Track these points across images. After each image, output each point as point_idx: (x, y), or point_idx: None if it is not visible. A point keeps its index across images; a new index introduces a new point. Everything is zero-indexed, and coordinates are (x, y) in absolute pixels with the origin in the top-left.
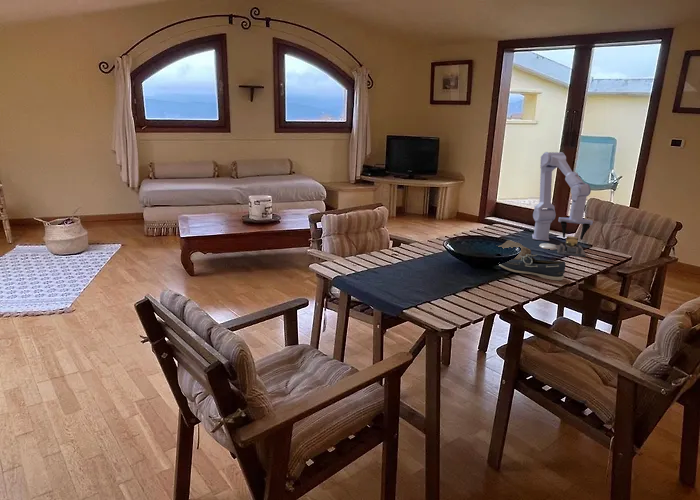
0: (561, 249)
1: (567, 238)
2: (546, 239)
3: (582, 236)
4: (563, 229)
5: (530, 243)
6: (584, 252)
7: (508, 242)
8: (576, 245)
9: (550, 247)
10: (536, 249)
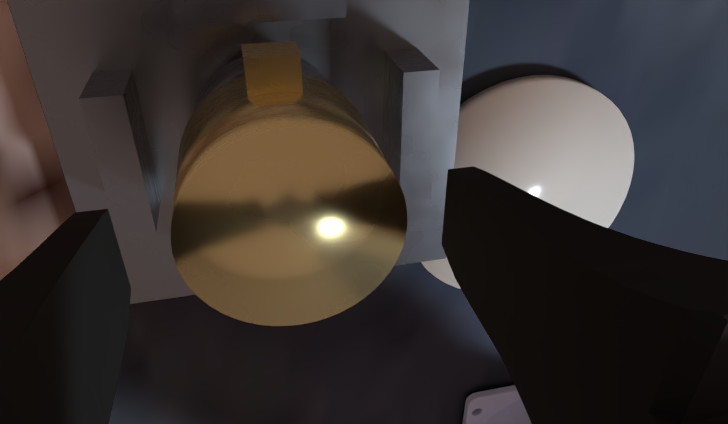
0: (407, 49)
1: (391, 173)
2: (494, 408)
3: (62, 244)
4: (623, 238)
5: (682, 231)
6: (33, 69)
7: None
8: (186, 125)
9: (524, 137)
10: (709, 3)
